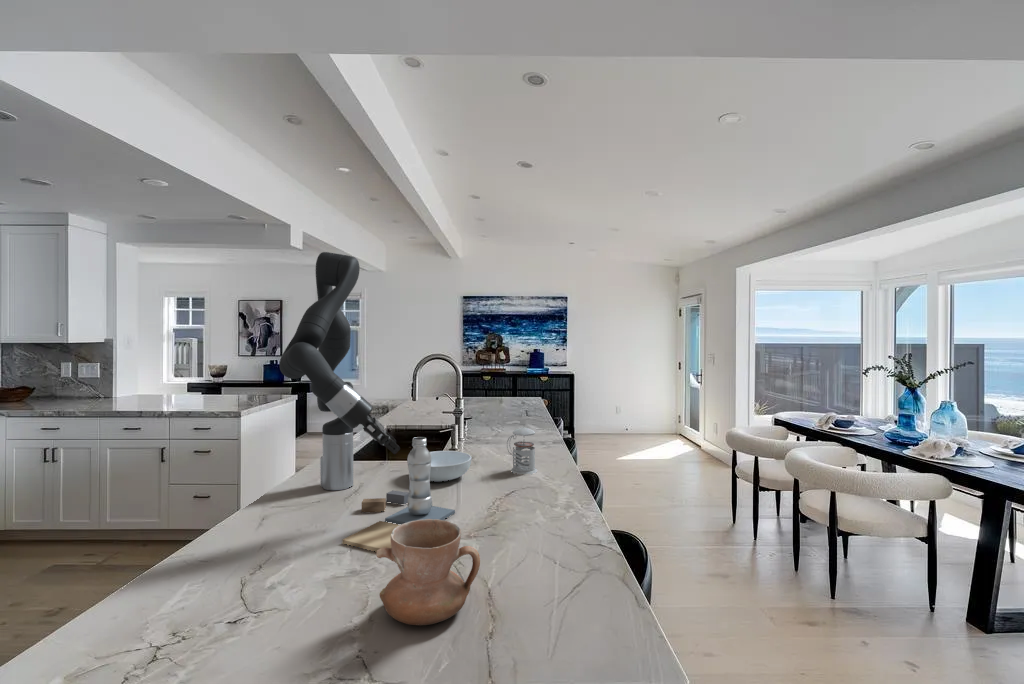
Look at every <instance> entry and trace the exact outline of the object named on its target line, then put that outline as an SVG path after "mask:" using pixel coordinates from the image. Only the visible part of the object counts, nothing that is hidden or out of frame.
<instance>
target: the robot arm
mask: <svg viewBox="0 0 1024 684" xmlns="http://www.w3.org/2000/svg"><path fill="white" fill-rule="evenodd" d="M359 276H360V263H359V260H358V258H356V257H354V256H352V255H347V254H341V253H335V252H329V251H323V252H320V253H319V255H318V256H317V258H316V262H315V282H316V283H315V284H316V285H315V286H316V295H317V301H314V302H313V303H312V304H311V305H309V307H308V308H307V309H306V311H305V312H304V314H303V316H301V317H302V318H301V319H300V322H299V324H298V326H297V328H296V331H295V333H294V335H293V337H292V338H291V340H290V342H289V343H288V344H287V346H286V347H285V349H284V350H283V353H282V355H281V357H280V359H279V371H280V372H281V374H282V375H283V376H285V377H286V378H287V379H291V380H292V379H293V380H296V379H300V378H302V377H304V376H306V377H307V378H308V379H309V381H310V386H309V390H310V391H311V393H312V394H313V395H314V396H315V397H316V401H317V409H319V411H321V412H326V413H328V412H330V413H331V412H332V413H333V414H334V415H335V416H336V417H337V418H334V419H333V420H330V421H327V422H325V423H324V424H323V425H322V429H321V430H322V431H321V432H322V456H320V459H319V462H320V463H319V464H320V466H319V467H320V469H319V471H320V487H321V488H322V489H324V490H326V491H341V490H346V489H349V487H350V488H352V487H353V486H354V429H356V428H357V427H358V426H359V425H362V427H363V428H362V429H363V431H364V432H365V433H366V434H367V435H369V436H370V437H371V438H372V439H373V440H374V441H377V443H379V445H380V446H384V447H385V448H387V450H389V451H390V452H391V453H392V454H393V455H396V454H397V453H398V452H399V451H400V450H401V447H400V446H399V445H398V444H397V440H396V439H395V438H394V436H392V435H391V434H390V433H389V432H387V429H386V428H385V427H384V425H383V424H382V423H381V422H380V421H379V420H378V419H377V418H376V417H375V416H373V417H372V415H371V413H372V411H373V410H374V407H373V405H372V404H371V403H370V402H369V401H367V399H365V398H364V397H363V396H362V395H361V394H360V393H359V392H358V391H357V390H356V389H354V385H353V383H352V382H349V381H344V380H343V379H342V378H341V377H340V376H338V375H337V374H336V373H335V372H334V371H335V370H336V368H337V367H338V365H340V363H341V362H342V361H343V360H344V358H345V357H346V356H347V354H348V353H349V351H350V348H351V330H352V328H351V325H350V322H349V319H347V317H346V315H345V314H344V312H343V311H342V309H341V307H342V306H343V305H344V303H345V301H346V300H347V299H348V297H349V296H350V294H351V293H352V291H353V289H354V288H355V286H356V284H357V282H358V279H359ZM333 287H334V288H333ZM351 486H352V487H351Z"/></svg>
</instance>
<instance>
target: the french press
mask: <svg viewBox="0 0 1024 684" xmlns="http://www.w3.org/2000/svg"><path fill="white" fill-rule="evenodd" d="M520 404H522V405H527V401H526V400H522V401H521V403H520ZM512 434H513V435H511V436H509V437H508V439H507V441H506V449H507V451H508V453H509V454H510V456H512V468H511V469H510V470H511V471H512V472H513V473H512V474H514V473H517V474H516V475H518V474H530V475H534V474H533V473H535V474H537V473H538V472H537V471H538V469H537V468H536V461H535V460H536V457H535V455H536V452H535V451H536V450H535V448H536V447H534V446H535V443H534V442H531V441H525V440H522V441H515V442H514V443H513V445H514V447H512V449H511V440H512V439H513V440H516V439H517V437H515V436H519V437H520V436H521V437H522V436H523V437H529V436H534V435H536V432H535V430H533V429H531V428H528V427H525V426H522V427H520V428H517V429H514V430H513V431H512ZM508 442H509V443H508ZM508 444H509V445H508ZM508 446H509V448H508ZM509 449H510V451H509ZM536 472H537V473H536Z"/></svg>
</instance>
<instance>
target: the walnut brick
mask: <svg viewBox="0 0 1024 684" xmlns="http://www.w3.org/2000/svg"><path fill="white" fill-rule="evenodd" d="M385 508H386V509H387V503H386V497H385V498H381V497H380V498H376V497H375V498H363V500H362V501H361V513H362V512H370V513H382V512H381V511H384V510H385V511H386V509H385ZM385 511H384V512H385Z"/></svg>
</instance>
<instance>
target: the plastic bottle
mask: <svg viewBox="0 0 1024 684" xmlns="http://www.w3.org/2000/svg"><path fill="white" fill-rule="evenodd" d="M411 446H412V449H411V450H410V452H409V453H408V455H407V469H408V478H409V489H408V491H409V497H408V504H406V505H407V507H408V511H409V512H410V514H412V515H424V514H427V513H429V512H430V510H431V509H432V506H433V497H432V495H431V494H432V493H431V492H432V491H431V483H430V482H431V481H430V469H431V461H432V457H431V454H430V452H431V451H430V450H428V448H427V446H428V445H427V437H425V436H417V437H413V438H412V443H411Z"/></svg>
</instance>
